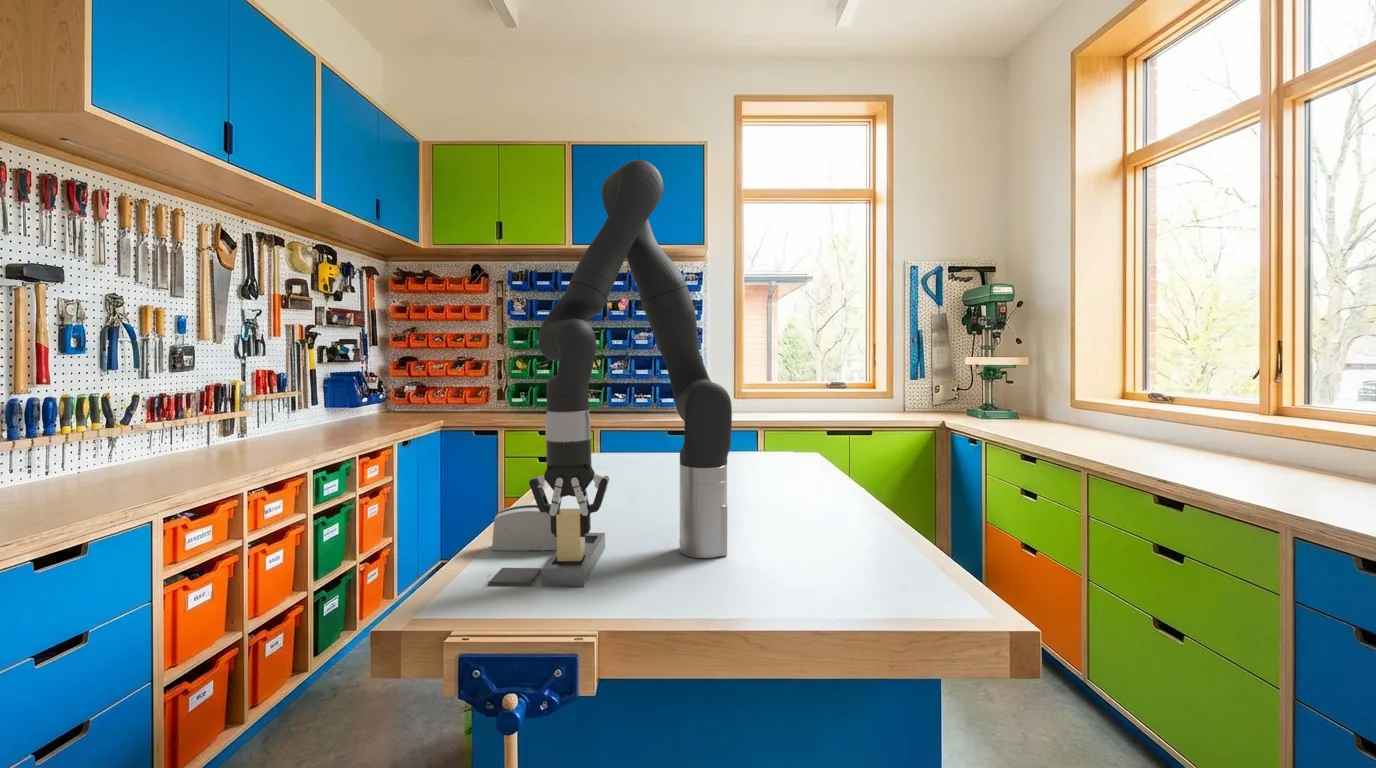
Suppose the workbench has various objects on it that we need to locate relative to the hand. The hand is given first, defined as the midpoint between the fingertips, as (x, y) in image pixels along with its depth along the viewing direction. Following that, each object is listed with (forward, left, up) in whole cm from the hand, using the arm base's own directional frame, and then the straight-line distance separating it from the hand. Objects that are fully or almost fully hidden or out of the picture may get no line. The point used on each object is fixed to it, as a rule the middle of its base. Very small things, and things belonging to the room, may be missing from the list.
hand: (570, 535), depth 109 cm
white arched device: (+11, -15, -8) cm, 20 cm away
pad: (+9, +1, -7) cm, 12 cm away
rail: (0, -6, -7) cm, 10 cm away
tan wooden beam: (0, 0, -4) cm, 4 cm away
